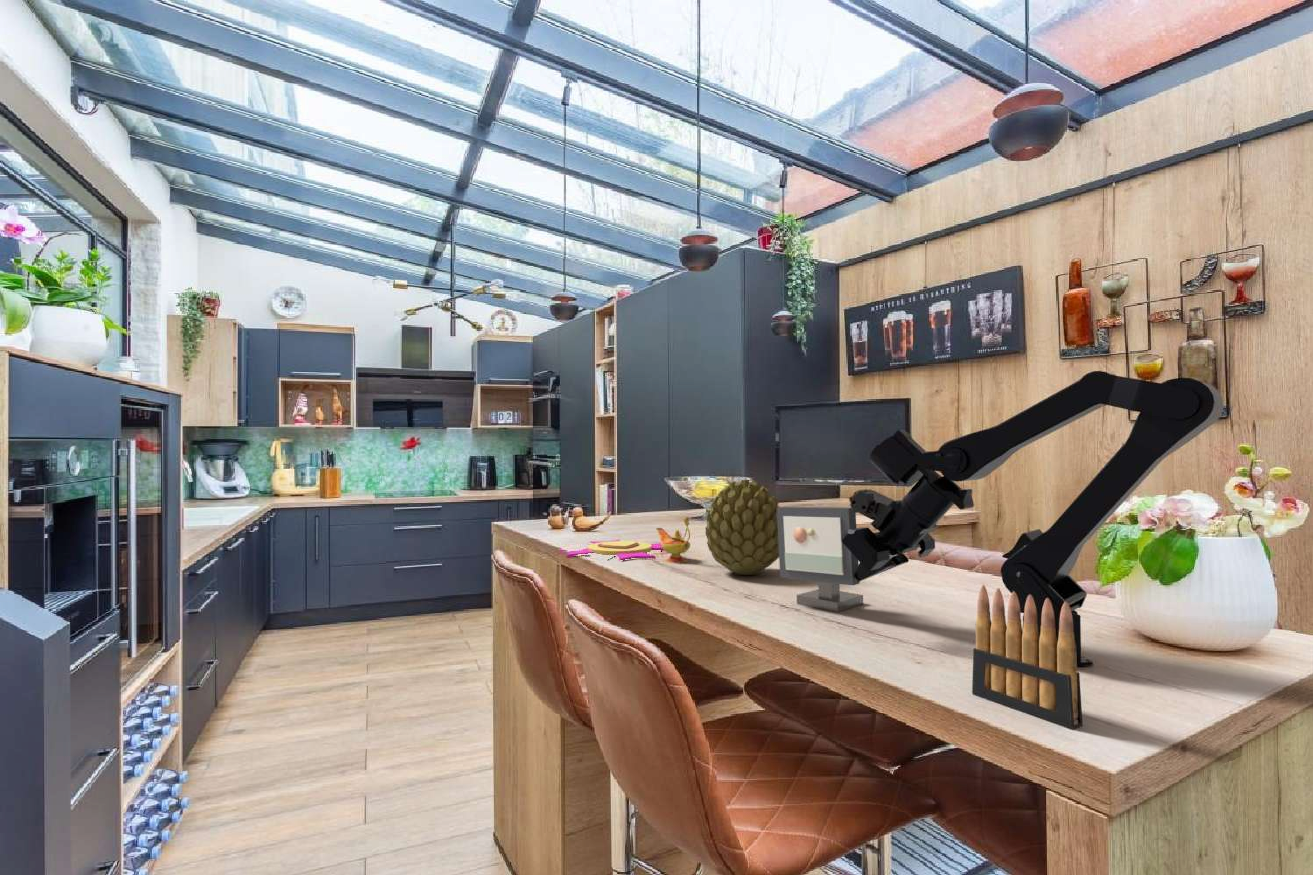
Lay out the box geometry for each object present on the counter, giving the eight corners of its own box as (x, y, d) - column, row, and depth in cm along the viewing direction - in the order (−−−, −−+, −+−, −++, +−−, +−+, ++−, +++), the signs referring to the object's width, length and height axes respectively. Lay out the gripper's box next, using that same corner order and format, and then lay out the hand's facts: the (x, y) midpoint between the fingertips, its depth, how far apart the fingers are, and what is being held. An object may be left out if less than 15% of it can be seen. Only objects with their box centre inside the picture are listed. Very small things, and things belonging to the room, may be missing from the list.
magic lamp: (669, 553, 170) (669, 509, 170) (703, 564, 153) (702, 516, 153) (644, 555, 167) (644, 511, 167) (676, 566, 150) (676, 518, 151)
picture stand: (863, 603, 114) (862, 522, 115) (836, 612, 109) (835, 526, 109) (823, 596, 120) (822, 518, 120) (796, 603, 115) (795, 522, 115)
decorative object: (765, 565, 152) (764, 477, 152) (800, 579, 136) (799, 480, 136) (695, 569, 147) (694, 478, 148) (722, 584, 131) (721, 482, 131)
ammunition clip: (971, 694, 73) (970, 584, 73) (982, 691, 74) (980, 582, 74) (1072, 730, 64) (1070, 604, 64) (1083, 726, 65) (1081, 602, 65)
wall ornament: (576, 556, 154) (551, 539, 183) (576, 566, 154) (551, 548, 183) (695, 548, 165) (654, 533, 193) (695, 558, 165) (654, 541, 193)
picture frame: (859, 583, 106) (855, 507, 106) (851, 585, 104) (846, 508, 104) (787, 575, 116) (783, 506, 116) (778, 577, 114) (774, 507, 115)
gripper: (911, 469, 108) (854, 535, 115) (849, 473, 95) (789, 546, 103) (964, 519, 102) (900, 585, 109) (904, 530, 89) (837, 604, 97)
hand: (857, 578), depth 105 cm, fingers closed, pressing on picture frame
